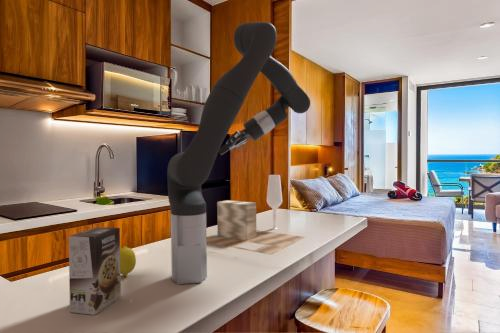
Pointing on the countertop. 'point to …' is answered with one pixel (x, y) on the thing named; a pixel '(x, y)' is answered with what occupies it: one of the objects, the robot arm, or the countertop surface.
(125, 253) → the lemon
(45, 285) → the countertop surface
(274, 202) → the champagne flute
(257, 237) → the trap deck
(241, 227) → the birch block
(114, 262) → the grey snack box
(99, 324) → the countertop surface
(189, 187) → the robot arm
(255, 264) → the countertop surface
